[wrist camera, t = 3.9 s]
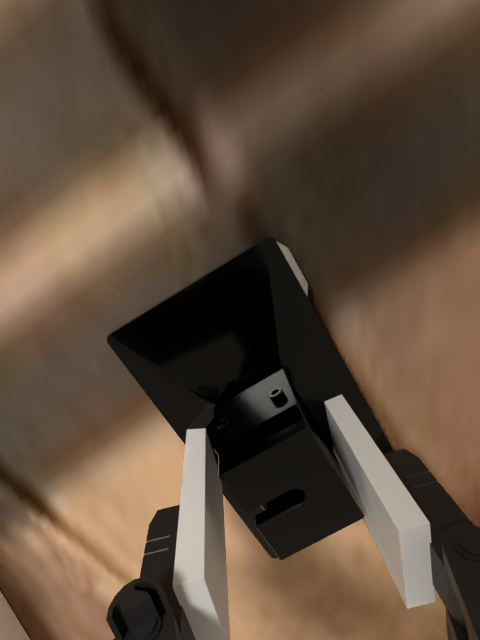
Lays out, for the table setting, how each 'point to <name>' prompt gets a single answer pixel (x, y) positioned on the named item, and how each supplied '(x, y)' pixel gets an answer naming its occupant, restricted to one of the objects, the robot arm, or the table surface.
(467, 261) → the table surface
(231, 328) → the black stand
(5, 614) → the plinth
